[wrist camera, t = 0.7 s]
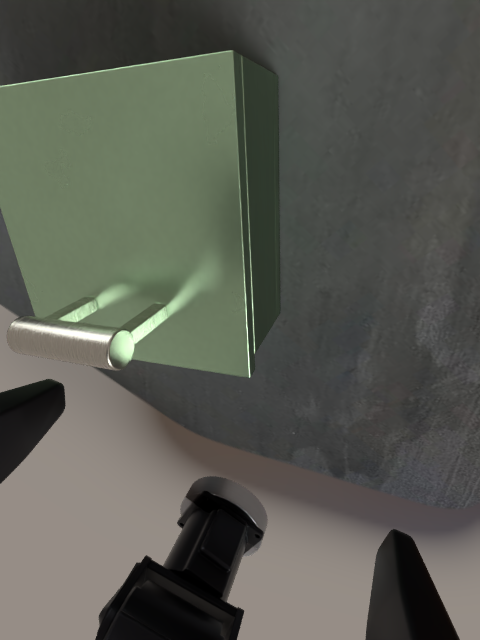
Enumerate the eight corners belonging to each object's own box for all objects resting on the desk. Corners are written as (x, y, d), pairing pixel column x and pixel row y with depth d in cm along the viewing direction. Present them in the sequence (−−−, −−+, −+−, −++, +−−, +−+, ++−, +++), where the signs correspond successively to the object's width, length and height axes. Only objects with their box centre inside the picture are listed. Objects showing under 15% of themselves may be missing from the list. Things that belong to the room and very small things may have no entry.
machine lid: (255, 369, 18) (210, 446, 13) (55, 339, 22) (-30, 390, 17) (241, 54, 12) (159, 7, 8) (-21, 93, 16) (-170, 77, 12)
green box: (280, 313, 21) (255, 354, 17) (105, 296, 25) (51, 326, 21) (278, 75, 16) (242, 54, 12) (61, 102, 20) (-19, 93, 16)
